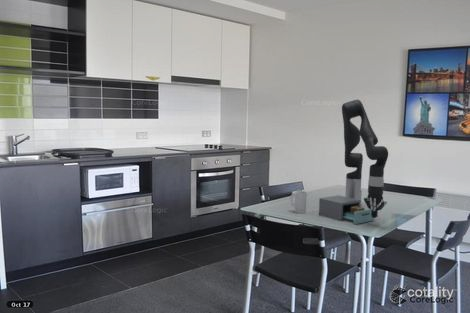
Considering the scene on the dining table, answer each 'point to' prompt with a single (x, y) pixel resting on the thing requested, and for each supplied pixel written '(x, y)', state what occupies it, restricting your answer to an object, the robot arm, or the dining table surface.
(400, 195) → the dining table surface
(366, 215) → the teal drawer
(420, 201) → the dining table surface
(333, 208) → the grey drawer box
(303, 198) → the mug
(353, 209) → the walnut block
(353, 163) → the robot arm
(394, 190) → the dining table surface
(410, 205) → the dining table surface
